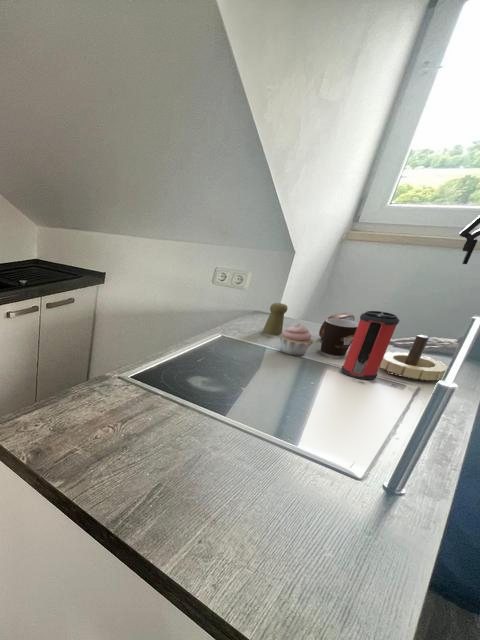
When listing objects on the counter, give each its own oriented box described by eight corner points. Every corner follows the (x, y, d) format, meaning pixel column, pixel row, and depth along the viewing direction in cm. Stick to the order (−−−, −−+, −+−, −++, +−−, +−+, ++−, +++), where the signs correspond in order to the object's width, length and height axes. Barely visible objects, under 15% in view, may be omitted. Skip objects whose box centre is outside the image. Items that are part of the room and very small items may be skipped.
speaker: (337, 374, 112) (359, 314, 104) (343, 366, 116) (365, 308, 109) (373, 382, 106) (398, 320, 99) (378, 374, 111) (402, 313, 103)
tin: (340, 332, 142) (348, 310, 138) (350, 335, 139) (359, 312, 136) (315, 339, 136) (322, 316, 133) (325, 342, 134) (333, 318, 130)
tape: (444, 368, 110) (448, 360, 109) (446, 385, 102) (450, 376, 101) (379, 356, 119) (383, 348, 118) (376, 370, 110) (379, 362, 109)
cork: (285, 335, 140) (293, 306, 136) (266, 335, 141) (274, 305, 137) (277, 330, 146) (285, 301, 141) (259, 329, 147) (267, 301, 142)
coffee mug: (320, 355, 124) (330, 325, 120) (312, 345, 131) (321, 317, 127) (366, 360, 120) (378, 329, 116) (355, 349, 127) (366, 320, 123)
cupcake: (272, 345, 132) (280, 317, 128) (305, 349, 129) (314, 320, 125) (277, 355, 125) (285, 325, 121) (312, 359, 121) (322, 329, 117)
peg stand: (426, 372, 111) (443, 335, 107) (426, 381, 106) (444, 343, 101) (388, 364, 116) (403, 329, 112) (387, 373, 111) (402, 336, 107)
